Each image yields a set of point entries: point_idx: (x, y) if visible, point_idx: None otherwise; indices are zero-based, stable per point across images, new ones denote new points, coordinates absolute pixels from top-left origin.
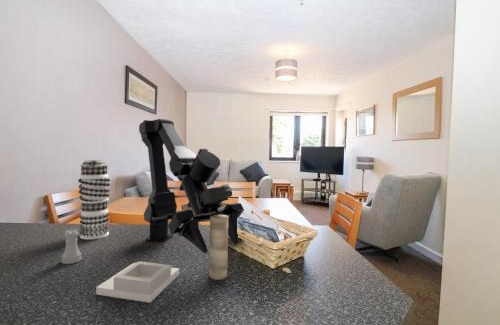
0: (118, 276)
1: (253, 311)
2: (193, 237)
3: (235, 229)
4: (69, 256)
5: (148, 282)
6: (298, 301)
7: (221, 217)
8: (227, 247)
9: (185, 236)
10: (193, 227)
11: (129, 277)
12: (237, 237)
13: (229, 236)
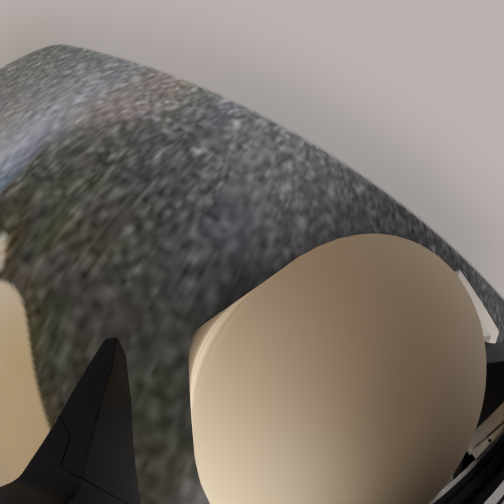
0: (495, 332)
1: (228, 125)
2: None
3: (75, 414)
4: None
5: (461, 273)
6: (111, 108)
7: (384, 349)
8: (203, 326)
9: None
10: (500, 346)
11: (484, 317)
12: (93, 362)
13: (132, 442)
